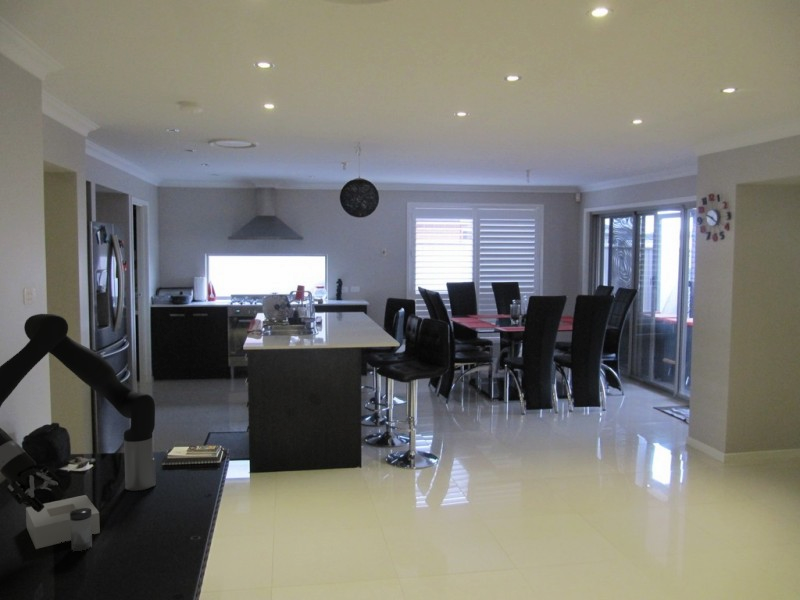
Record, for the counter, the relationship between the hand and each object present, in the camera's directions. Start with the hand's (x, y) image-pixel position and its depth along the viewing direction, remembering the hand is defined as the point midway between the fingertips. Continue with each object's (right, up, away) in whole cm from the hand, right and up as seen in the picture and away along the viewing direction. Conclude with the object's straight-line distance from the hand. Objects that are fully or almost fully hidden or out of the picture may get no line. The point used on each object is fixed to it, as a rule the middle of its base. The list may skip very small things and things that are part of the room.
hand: (52, 503), depth 167 cm
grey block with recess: (-3, -11, +11) cm, 16 cm away
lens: (+8, -12, 0) cm, 14 cm away
